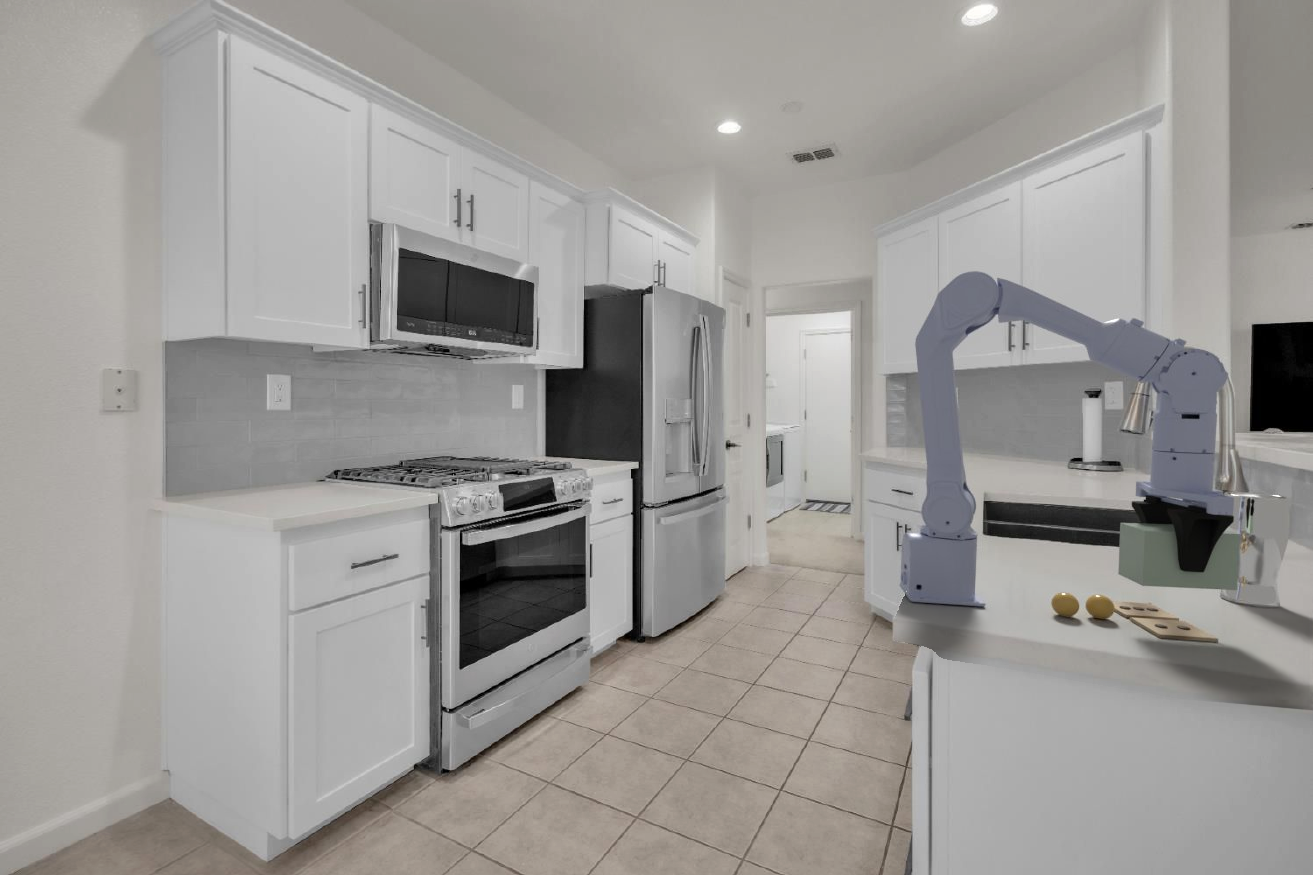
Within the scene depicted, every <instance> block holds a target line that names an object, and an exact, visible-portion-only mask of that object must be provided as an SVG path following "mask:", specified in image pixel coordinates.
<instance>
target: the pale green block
mask: <svg viewBox="0 0 1313 875" xmlns="http://www.w3.org/2000/svg"><path fill="white" fill-rule="evenodd" d="M1239 535H1240V534H1238V533H1234V532H1230V531H1227V530H1225V531H1224V533H1223V534H1222V535H1221V537H1220V538H1219V540H1218V541H1217V543H1216V545H1215V547H1214V549H1213V551H1212V554H1211V556H1210V559H1209V561H1208V564H1207V566H1206V568H1205V571H1204V572H1186V571H1182V570H1181V569H1180V566H1179V561H1178V548H1177V538H1176V533H1175V529H1174V526H1173V524H1143V523H1141V522H1140V523H1139V522H1138V523H1137V522H1120V523H1119V546H1118V548H1119V550H1118V551H1119V552H1118V575H1120V576H1122V577H1124V578H1125V579H1127V580H1130V581H1132V582H1134V583H1136V584H1138V585H1140V586H1142V587H1162V588H1179V589H1180V588H1181V589H1183V588H1185V589H1201V590H1203V589H1205V590H1206V589H1207V590H1221V589H1222V590H1237V578H1238V557H1239Z"/></svg>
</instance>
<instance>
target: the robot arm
mask: <svg viewBox="0 0 1313 875" xmlns="http://www.w3.org/2000/svg"><path fill="white" fill-rule="evenodd" d="M996 279H997V280H995V279H994V278H993V276H991V275H990V274H988V273H986V272H983V271H977V270H970V271H965V272H962V273H960V274H958V275H957V276H956V277H954V278H953V279H951V281H950V282H949V283H948V284H946V286H945V287H943V288H942V289H941V290H940V291H939V292H938V293H937V294H936V298H935V301H934V303H933V306H932V307H931V310H929V313H928V315H927V317H926V319H925V320H924V322H923V324H922V325H921V328H920V329H919V331H918V333H917V335H916V338H915V344H914V346H915V355H916V356H915V357H916V365H917V366H916V367H917V374H918V375H917V376H918V386H919V396H920V398H919V399H920V406H921V419H922V427H923V437H924V447H925V448H924V449H925V457H926V479H925V480H926V482H925V484H926V496H925V499H924V501H923V502H922V506H921V509H920V510H921V517H922V520H923V522H924V524H922V525H921V526H920V527H919V530H920V531H917V532H905V533H904V534H903V536H902V541H901V556H900V557H901V558H900V560H901V561H900V563H901V564H900V582H899V585H898V586H899V587H900V590H902V591H903V593H904V594H905V595H906V597H907V598H908V600H909V601H910V602H914V603H924V604H925V603H928V604H938V605H939V604H941V605H942V604H943V605H954V606H955V605H956V606H957V605H958V606H969V607H970V606H971V607H986V602H985V601H984V600H982V599H981V597H979V596H978V595H977V594H976V577H977V575H976V574H977V571H976V570H977V552H978V532H977V531H976V530H975V529H973V527H972V526H971V525H972V523H973V520H974V515H976V514H975V513H976V509H977V502H976V498H975V496H974V494H973V493H972V491H971V490H970V488H969V487H968V484H967V475H966V470H965V465H964V456H963V448H962V446H963V445H962V435H961V426H960V415H959V406H958V396H957V385H956V376H955V375H956V374H955V366H954V363H955V362H954V356H953V355H954V351H955V349H956V348H957V347H958V346H959V345H961V343H962V342H963V341H964V340H965V339H966V338H968V336H969V335H970V334H971V333H973V332H975V331H977V330H979V329H980V328H982V327H984V326H986V325H988V324H989V323H990V322H991V321H993V319H994V318H995V317H996V316H997V318H998V320H997V321H998V323H999V324H1000V323H1001V324H1002V323H1010V322H1019V321H1023V322H1026V323H1029V324H1031V325H1034V326H1037V327H1038V328H1041V329H1043V330H1046V331H1048V332H1051V333H1053V334H1057V335H1059V336H1061V337H1064V338H1066V339H1068V340H1071V341H1073V342H1076V343H1078V344H1079V345H1080V344H1081V345H1083V346H1084V347H1085V348H1086V351H1087V355H1088V358H1089V360H1090V361H1092V362H1094V363H1096V364H1098V365H1099V366H1103V367H1105V368H1108V369H1109V370H1112V371H1115V372H1116V373H1119V374H1121V375H1124V376H1125V377H1127V378H1130V379H1132V380H1134V381H1136V382H1139V383H1141V384H1146V383H1150V386H1151V388H1152V389H1153V391H1154V393H1156V403H1155V412H1153V413H1154V414H1153V426H1152V428H1153V429H1152V442H1151V444H1152V446H1151V459H1150V460H1151V462H1150V477H1149V478H1150V479H1149V480H1150V481H1135V496H1136V497H1139V498H1145V499H1143V501H1142V500H1133V501H1131V507H1132V509H1133V510H1134V513H1135V514H1136V515H1137V517H1138V520H1139V521H1140V523H1143V524H1173V526H1174V529H1175V533H1176V538H1177V548H1178V561H1179V566H1180V569H1181V570H1182V571H1186V572H1204V571H1205V568H1206V566H1207V564H1208V561H1209V559H1210V556H1211V554H1212V551H1213V549H1214V547H1215V545H1216V543H1217V541H1218V540H1219V538H1220V537H1221V535H1222V534H1223V533H1224V531H1225V530H1226V529H1227V528H1228V527H1229V526H1230V525H1231V524H1232V523H1233V522H1234V516H1232V515H1233V509H1234V498H1233V497H1228V496H1225V495H1224V490H1219V489H1217V488H1216V489H1214V488H1213V487H1214V473H1215V471H1214V470H1215V455H1216V454H1215V453H1216V440H1217V426H1218V425H1217V423H1218V413H1217V404H1218V400H1217V399H1218V392H1219V391H1221V389H1222V388H1223V387H1224V386H1225V384H1226V383H1227V382H1228V381H1227V380H1228V377H1229V373H1228V372H1226V371H1225V366H1224V364H1223V362H1221V361H1220V358H1219V357H1218V356H1217V355H1215V354H1214V353H1212V352H1210V351H1208V350H1204V349H1199V348H1195V349H1194V348H1193V349H1192V348H1189V349H1185V345H1186V344H1187V340H1185V339H1181V338H1179V337H1177V338H1175V339H1174V340H1173V339H1171V338H1168V337H1165V336H1164V335H1161V334H1158V333H1156V332H1154V331H1151V330H1149V329H1147V328H1144V327H1142V326H1143V325H1144V324H1145V323H1144V321H1142V320H1140V319H1138V318H1135V317H1134V318H1131V319H1130V320H1125V319H1123V318H1115V319H1111V320H1109V321H1104V322H1100V321H1098V320H1096V319H1094V318H1092V317H1090V316H1088V315H1086V314H1084V313H1081V312H1079V311H1077V310H1075V309H1073V308H1071V307H1068V306H1067V305H1065V304H1062V303H1060V302H1058V301H1056V300H1054V299H1051V298H1050V297H1047V296H1046V295H1043V294H1041V293H1039V292H1036V291H1035V290H1033V289H1031V288H1029V287H1026V286H1023V285H1021V284H1018V283H1016V282H1014V281H1011V280H1008V279H1004V278H1000V277H997V278H996ZM1184 349H1185V350H1184ZM906 591H907V592H906Z"/></svg>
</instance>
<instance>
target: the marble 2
mask: <svg viewBox="0 0 1313 875" xmlns="http://www.w3.org/2000/svg"><path fill="white" fill-rule="evenodd" d="M1112 601H1113V600H1111V599H1110V598H1109V597H1108V596H1106V595H1103V594H1093V595H1091V596H1089V597H1088V598H1087V599H1086V601H1085V609H1086V611H1087V612H1088V614H1089V615H1090V616H1092V617H1093V618H1095V619H1098V620H1107V619H1109V618H1111V617H1112V616H1113V614H1115V611H1114V610H1115V608H1114V604H1113V602H1112Z"/></svg>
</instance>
